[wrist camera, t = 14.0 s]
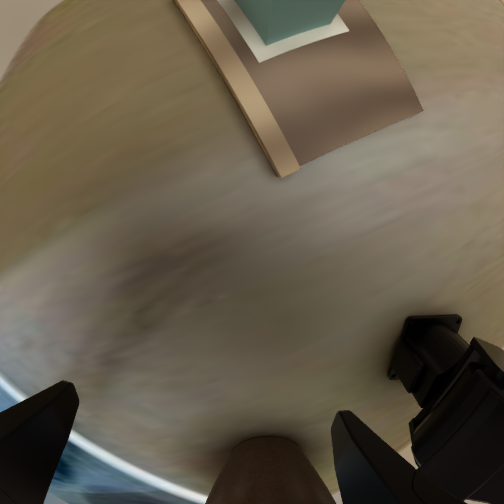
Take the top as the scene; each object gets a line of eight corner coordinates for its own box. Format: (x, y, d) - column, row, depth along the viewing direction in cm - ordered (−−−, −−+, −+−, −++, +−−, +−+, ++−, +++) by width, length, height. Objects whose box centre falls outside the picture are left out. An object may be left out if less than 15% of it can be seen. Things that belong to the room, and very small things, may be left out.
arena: (419, 111, 17) (441, 106, 15) (276, 176, 19) (281, 178, 16) (312, -49, 13) (319, -69, 11) (172, -2, 15) (161, -22, 12)
